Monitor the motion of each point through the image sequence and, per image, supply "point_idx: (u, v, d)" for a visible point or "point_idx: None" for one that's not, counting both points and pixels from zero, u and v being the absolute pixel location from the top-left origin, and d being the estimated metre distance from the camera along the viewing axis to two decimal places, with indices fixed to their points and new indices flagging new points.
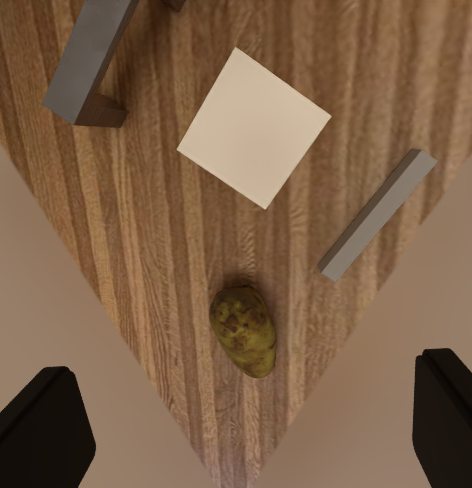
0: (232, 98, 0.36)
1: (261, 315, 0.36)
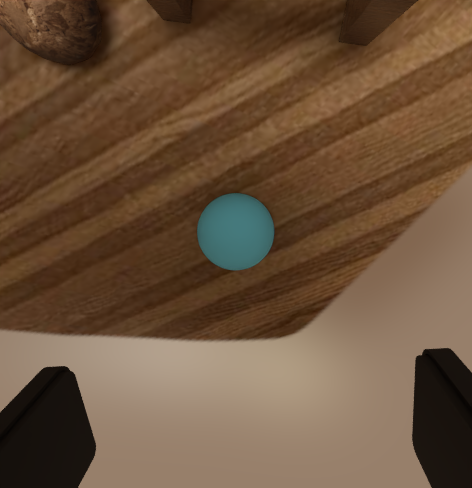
0: None
1: None
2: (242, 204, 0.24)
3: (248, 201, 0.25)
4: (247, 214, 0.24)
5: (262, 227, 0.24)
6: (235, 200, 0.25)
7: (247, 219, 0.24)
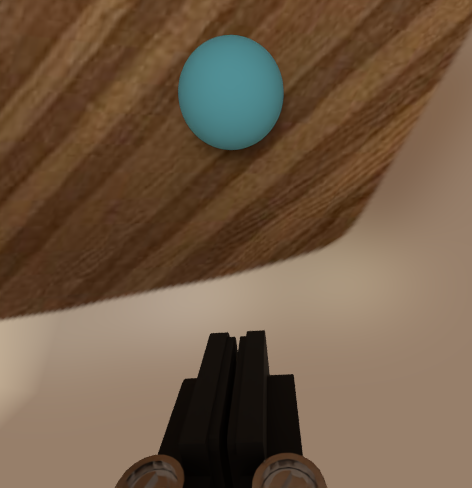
0: None
1: None
2: (227, 38, 0.17)
3: (235, 35, 0.18)
4: (238, 46, 0.17)
5: (262, 61, 0.17)
6: (217, 37, 0.18)
7: (239, 52, 0.17)
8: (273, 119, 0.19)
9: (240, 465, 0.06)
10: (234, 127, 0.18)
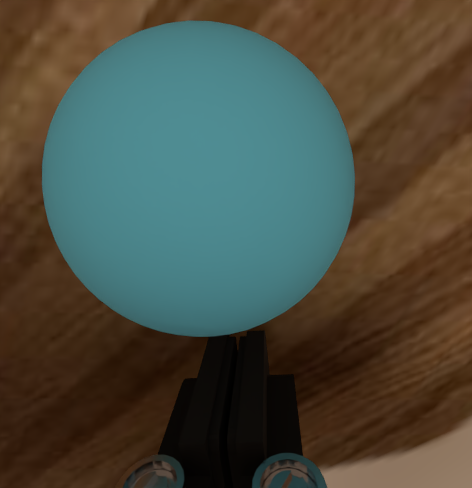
0: None
1: None
2: (175, 30, 0.05)
3: (204, 22, 0.05)
4: (208, 59, 0.05)
5: (298, 108, 0.05)
6: (143, 31, 0.05)
7: (212, 80, 0.04)
8: None
9: (240, 465, 0.06)
10: (208, 322, 0.05)
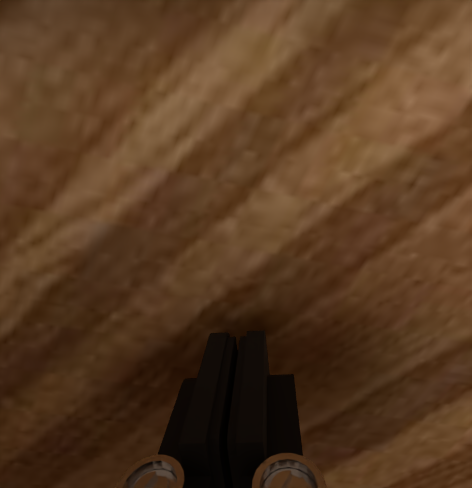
0: None
1: None
2: None
3: None
4: None
5: None
6: None
7: None
8: None
9: (240, 465, 0.06)
10: None
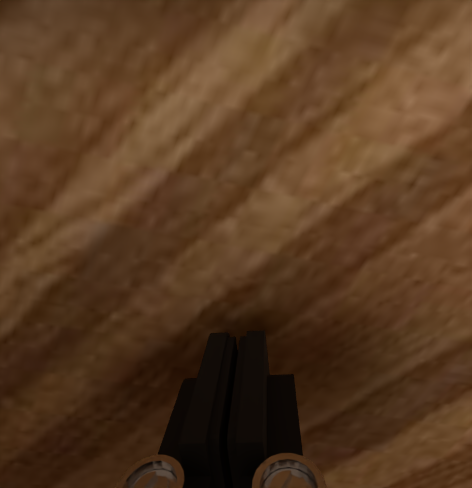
0: None
1: None
2: None
3: None
4: None
5: None
6: None
7: None
8: None
9: (240, 465, 0.06)
10: None
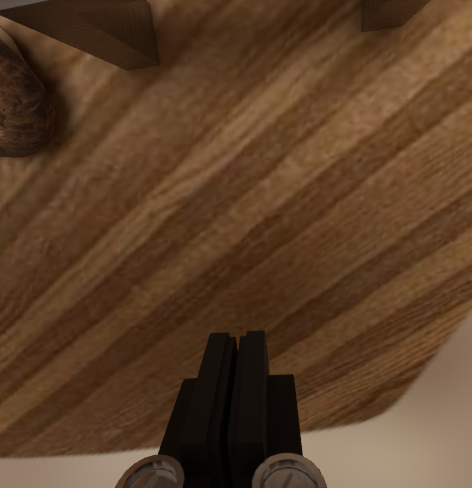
0: None
1: None
2: None
3: None
4: None
5: None
6: None
7: None
8: None
9: (240, 465, 0.06)
10: None
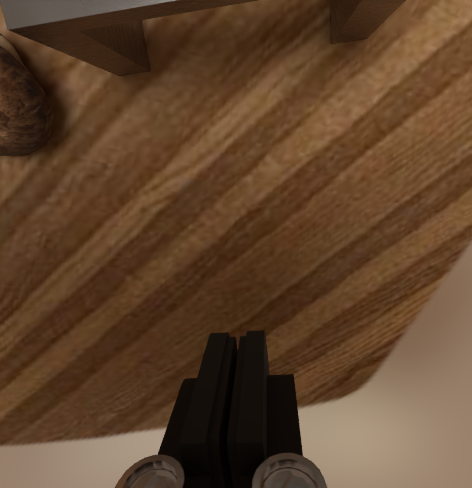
0: None
1: None
2: None
3: None
4: None
5: None
6: None
7: None
8: None
9: (240, 465, 0.06)
10: None
